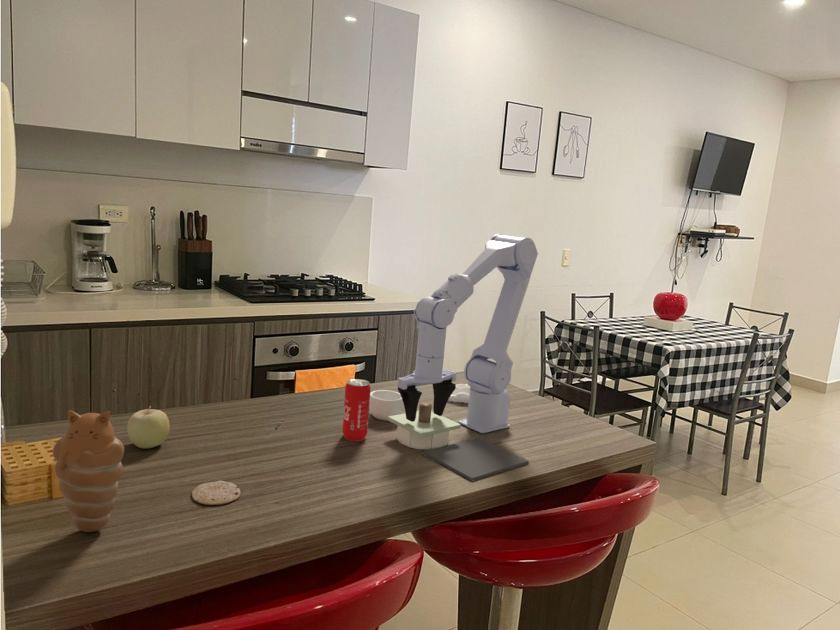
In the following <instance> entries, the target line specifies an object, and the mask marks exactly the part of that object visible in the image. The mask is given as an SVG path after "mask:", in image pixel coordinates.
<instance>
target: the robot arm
mask: <svg viewBox="0 0 840 630" xmlns="http://www.w3.org/2000/svg"><path fill="white" fill-rule="evenodd" d="M536 246H537V245H536V243H535V242H534V240H533V238H531V237H519V236H512V235H504V234H502V233H496V234H494V235H492V237H491V238H490V239H489V240H488V241H486V242H485V245H484V249H483V251H482V252H481V253H480V254H479V255H478V256H477V258H475V259H474V261H473V262H471V264H470V265H469V266H468V267H467V268H466V270H464V272H463V273H462V274H461V273H454V274H450V276H448V277H447V280H446V281H445V282H444V283H443V284H442V285H441V286H439V287H438V289H436V290H435V291H433V293H432V294H431V295H430V296H429V295H428V296H424V297H422V298H421V299H420V300H419V301H418V302H417V304H416V306H415V308H414V309H413V315H414V319H415V320H416V329H417V341H416V355H415V357H416V358H415V365H414V366H415V367H414V370H413V371H412V373H410V374H409V375H406V376H402V377H398V378H397V392H398V393H400V395H401V397H402V400H403V403H402V404H403V407H404V411H405V412H404V413H406V419H407V420H409V421H411V422H414V421H415V419H416V413H417V411H418V407H419V402H420V399H421V396H422V394H423V393H422V392H421V391H420V390H418V388H416V387H420V386H426V385H432V388H433V389H432V391H433V405H432V409H433V412H434V414H436V415H438V416H443V414H444V410H445V408H446V407H447V403H448V402H449V401H448V399H449V397H450V396H451V394H452V393H453V391H454V390H455V389H456V385H457V384H456V383H453V382H456V381H457V372H455V371H452V370H443V367H444V357H445V349H446V348H445V347H446V346H445V345H446V338H447V337H446V336H447V328H448V327H449V326H450V325H451V324H452V323H453V321H454V318H455V315H456V313H457V312H458V309H459V308H460V307H461V306H462V305H463V304H464V303H465V302H466V301H467V300H468V299H469V298H470V297H471V296H472V295H473V294H474V292H475V291H474V286H475V285H476V284H478V282H480V281H481V280H483V278H485V277H486V276H488V274H489V273H491V272H492V271H493V270H494V269H496V268H497V270H498V271H499V272H500V273H501V274H502V276H503V278H504V281H503V284H502V287H501V290H500V293H499V296H498V299H497V302H496V306H495V308H494V311H493V314H492V318H491V320H490V324H489V327H488V330H487V333H486V336H485V339H484V342H483V344H481V345H479V346H477V347H476V348H474V349H473V350H472V353H471V355H470V357H469V358H468V360H467V361H466V363H465V365H464V366H465V367H464V369H463V373H464V378H465V380H466V381H467V384H468V386H470V393H469V403H467V404H468V405H467V413H466V416H467V417H466V418H464V419H460V420H458V423H459V424H461V426H464V427H467V428H469V429H472V430H473V431H475V432H477V433H479V434H486V433H490V432H495V431H498V430H502V429H507V428H511V424H509V422H508V421H509V416H510V415H509V413H510V403H511V397H510V394H509V392H508V390H507V388H508V386H509V385H510V383H511V379H512V368H513V364H514V362H513V360H512V358H511V357H510V356H509V354H508V351H507V350H508V348H509V345H510V341H511V338H512V335H513V333H514V332H513V331H514V329H515V327H516V323H517V320H518V317H519V314H520V311H521V307H522V305H523V302H524V298H525V296H526V293H527V289H528V286H529V283H530V280H531V276H532V273H533V270H534V267H535V264H536V260H537V257H538V255H539V253H538V250H537V247H536ZM489 359H491V360H489ZM492 360H493V361H492Z"/></svg>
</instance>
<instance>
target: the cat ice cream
mask: <svg viewBox="0 0 840 630" xmlns="http://www.w3.org/2000/svg"><path fill="white" fill-rule="evenodd" d="M110 411H111V410H107V411H104V412H102V413H98V412H87V413H83V414H79V413H77V412H75V411H74V410H71V409H69V410H68V411H67V419H68V427H67V429H66V432H65V435H64V436H62V437H61V438H59V439H58V440H57V442H56V443H55V444H54V445H53V449H52V456H53V459H54V460H55V461H56V463H55V466H54V472H55V476H56V477H57V478H58V479H59V490H60V492H61V494H62V496H63V500H64V506H65V508H66V511H67V512H68V513H69V514H70V515H71V521H72V524H73V526H74V527H75V528H76V529H78V530H79V531H81V532H84V533H94V532H98V531H100V530H101V529H103V528H105V527H106V525H107V524H108V523H109V521H110V518H111V512H112V511H113V509H114V507H115V502H116V501H115V499H116V497H117V495H118V492H119V480H120V478H121V477H122V476H123V473H124V467H123V463H122V459H123V458H124V453H125V446H124V444H123V442H122V441H121V440H120V439H119V438H117V437H116V434H115V431H114V427H113V424H112V422H111V421H110V418H111V417H110V416H111V412H110Z"/></svg>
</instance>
